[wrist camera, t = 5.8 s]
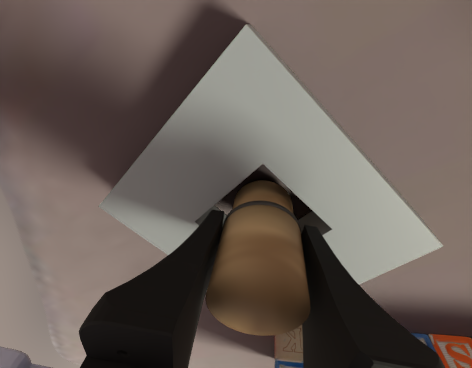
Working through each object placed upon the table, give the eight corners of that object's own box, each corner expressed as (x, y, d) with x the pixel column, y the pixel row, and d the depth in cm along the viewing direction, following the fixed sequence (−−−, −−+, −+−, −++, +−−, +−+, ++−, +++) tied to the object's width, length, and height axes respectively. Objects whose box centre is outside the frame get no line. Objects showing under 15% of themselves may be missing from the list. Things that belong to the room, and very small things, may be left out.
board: (420, 216, 15) (443, 246, 13) (269, 295, 20) (268, 325, 18) (251, 25, 11) (246, 24, 9) (119, 184, 17) (98, 206, 15)
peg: (311, 199, 15) (335, 302, 9) (271, 240, 16) (269, 346, 11) (253, 163, 14) (239, 251, 8) (217, 211, 16) (187, 308, 10)
